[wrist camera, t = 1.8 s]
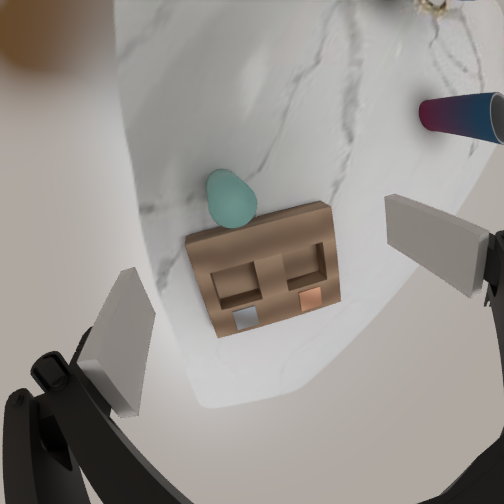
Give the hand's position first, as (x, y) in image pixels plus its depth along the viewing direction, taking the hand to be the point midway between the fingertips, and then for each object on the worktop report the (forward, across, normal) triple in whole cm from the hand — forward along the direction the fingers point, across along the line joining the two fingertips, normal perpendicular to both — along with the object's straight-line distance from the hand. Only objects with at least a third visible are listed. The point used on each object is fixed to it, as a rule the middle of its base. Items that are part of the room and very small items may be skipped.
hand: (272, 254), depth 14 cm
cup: (+23, +33, +5) cm, 41 cm away
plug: (+23, -1, 0) cm, 23 cm away
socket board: (+23, +2, -12) cm, 26 cm away
